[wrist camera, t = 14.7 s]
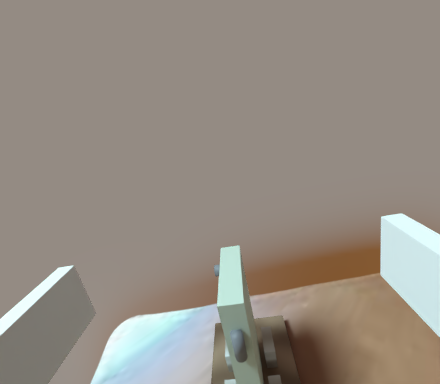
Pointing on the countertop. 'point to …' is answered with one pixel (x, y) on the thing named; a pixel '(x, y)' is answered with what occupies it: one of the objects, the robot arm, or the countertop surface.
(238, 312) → the door
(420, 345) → the countertop surface
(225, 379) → the hinge base
